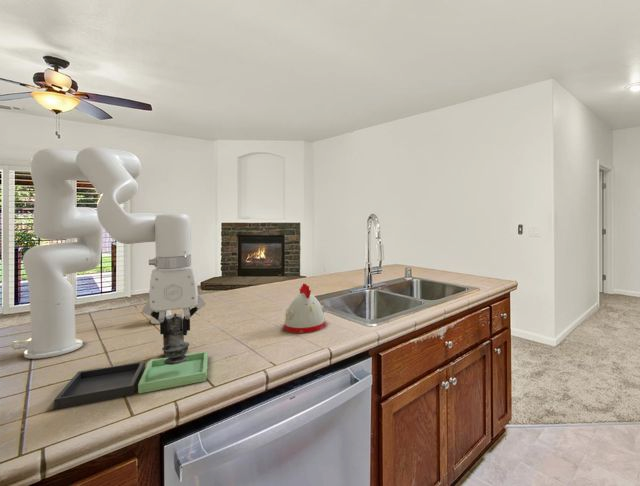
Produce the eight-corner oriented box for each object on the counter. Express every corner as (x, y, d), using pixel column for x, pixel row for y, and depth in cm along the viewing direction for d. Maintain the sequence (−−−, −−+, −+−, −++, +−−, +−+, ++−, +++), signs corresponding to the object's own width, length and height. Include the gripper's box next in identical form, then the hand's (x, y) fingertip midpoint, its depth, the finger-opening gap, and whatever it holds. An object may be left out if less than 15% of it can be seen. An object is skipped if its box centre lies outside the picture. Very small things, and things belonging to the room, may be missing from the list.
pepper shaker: (162, 359, 101) (161, 320, 101) (164, 352, 106) (164, 315, 106) (183, 355, 104) (182, 317, 103) (184, 349, 108) (184, 312, 108)
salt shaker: (194, 355, 95) (193, 309, 95) (181, 365, 89) (180, 316, 89) (171, 355, 95) (170, 310, 95) (157, 365, 89) (155, 317, 89)
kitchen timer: (292, 335, 120) (292, 290, 119) (279, 324, 131) (278, 283, 130) (331, 327, 128) (331, 284, 127) (315, 317, 139) (315, 278, 138)
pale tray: (138, 393, 83) (138, 384, 83) (149, 368, 96) (149, 360, 96) (206, 380, 89) (205, 372, 89) (207, 358, 102) (207, 351, 102)
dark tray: (54, 409, 76) (53, 399, 76) (78, 379, 89) (78, 371, 89) (133, 394, 82) (133, 385, 82) (145, 368, 95) (145, 360, 95)
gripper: (130, 267, 84) (132, 345, 85) (210, 262, 92) (212, 334, 92) (136, 263, 91) (138, 335, 92) (211, 258, 98) (212, 325, 99)
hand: (175, 334), depth 92 cm, fingers closed on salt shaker, 3 cm apart
